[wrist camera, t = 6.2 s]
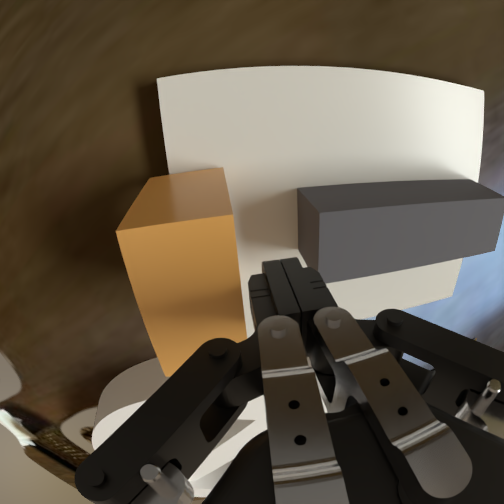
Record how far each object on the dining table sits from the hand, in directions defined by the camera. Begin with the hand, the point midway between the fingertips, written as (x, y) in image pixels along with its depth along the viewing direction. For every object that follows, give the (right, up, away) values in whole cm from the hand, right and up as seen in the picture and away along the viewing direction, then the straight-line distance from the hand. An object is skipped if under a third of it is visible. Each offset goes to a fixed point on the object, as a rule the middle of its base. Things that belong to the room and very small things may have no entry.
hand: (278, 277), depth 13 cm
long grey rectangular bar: (+8, +4, +6) cm, 11 cm away
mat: (+5, +4, +7) cm, 10 cm away
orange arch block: (-4, +2, +5) cm, 7 cm away
